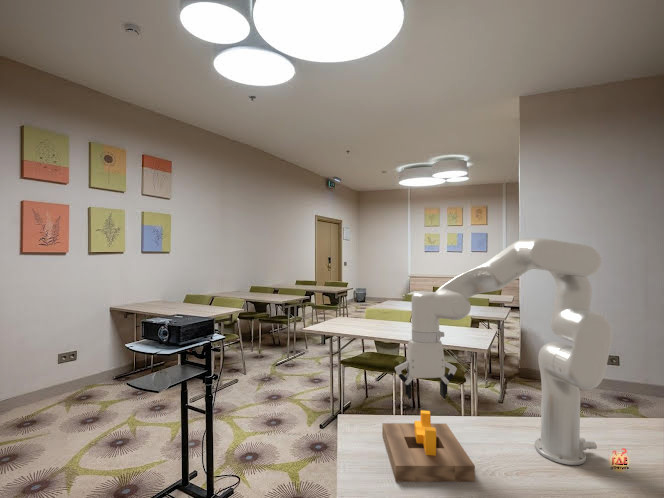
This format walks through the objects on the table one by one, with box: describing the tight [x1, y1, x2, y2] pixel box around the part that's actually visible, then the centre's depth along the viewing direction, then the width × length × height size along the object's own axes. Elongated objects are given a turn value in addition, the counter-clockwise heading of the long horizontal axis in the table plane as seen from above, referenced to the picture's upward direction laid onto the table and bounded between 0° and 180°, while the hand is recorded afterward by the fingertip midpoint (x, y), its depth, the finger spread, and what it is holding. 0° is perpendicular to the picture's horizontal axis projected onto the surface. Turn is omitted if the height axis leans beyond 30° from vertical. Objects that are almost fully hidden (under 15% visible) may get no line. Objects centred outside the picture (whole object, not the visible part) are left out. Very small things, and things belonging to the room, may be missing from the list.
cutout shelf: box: [381, 422, 476, 483], centre depth 103 cm, size 20×22×4 cm
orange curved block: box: [414, 409, 436, 456], centre depth 103 cm, size 12×4×6 cm, turn 173°
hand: (425, 396), depth 103 cm, fingers open, 9 cm apart
